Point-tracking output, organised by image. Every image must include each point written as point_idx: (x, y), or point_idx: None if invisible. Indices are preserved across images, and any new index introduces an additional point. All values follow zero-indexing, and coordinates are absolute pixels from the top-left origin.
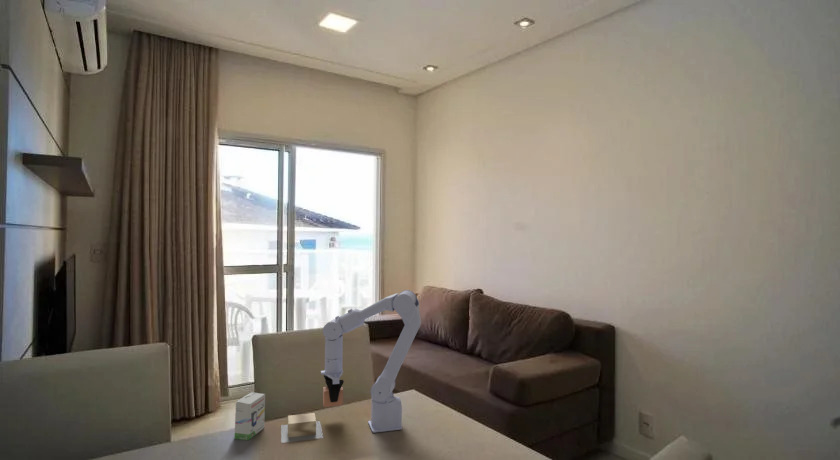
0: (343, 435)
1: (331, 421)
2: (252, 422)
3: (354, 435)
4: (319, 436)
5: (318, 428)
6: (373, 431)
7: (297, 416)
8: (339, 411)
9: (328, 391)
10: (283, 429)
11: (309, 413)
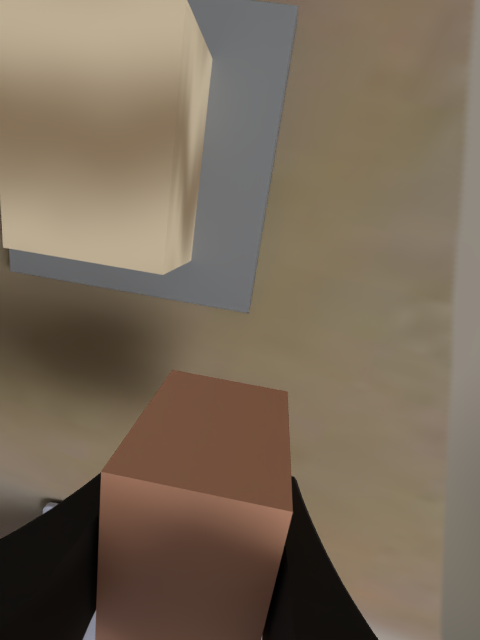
0: (65, 380)
1: (257, 378)
2: None
3: (52, 425)
4: (32, 253)
5: (140, 275)
6: (43, 508)
7: (136, 101)
8: (377, 459)
9: (101, 515)
10: (210, 18)
11: (165, 229)
